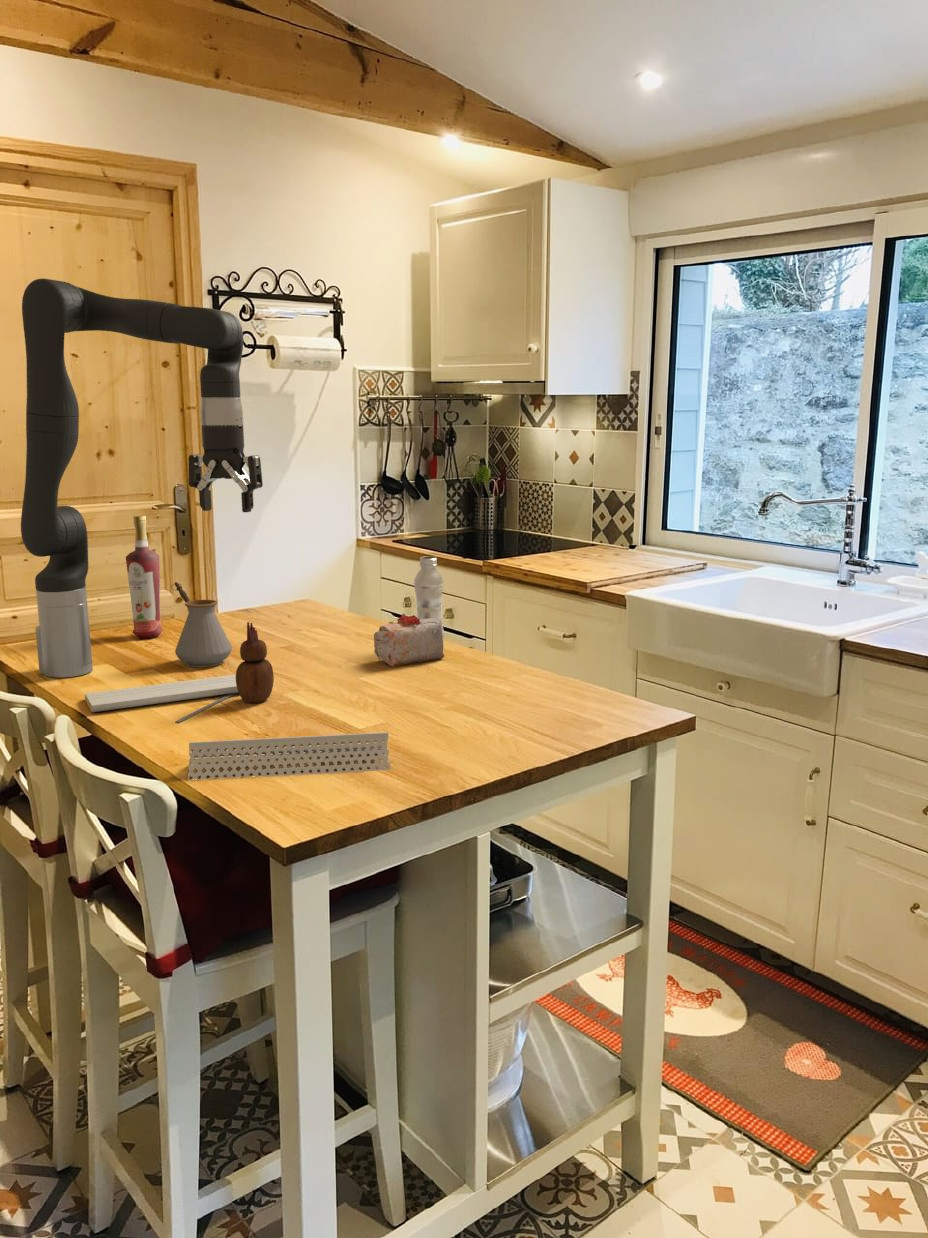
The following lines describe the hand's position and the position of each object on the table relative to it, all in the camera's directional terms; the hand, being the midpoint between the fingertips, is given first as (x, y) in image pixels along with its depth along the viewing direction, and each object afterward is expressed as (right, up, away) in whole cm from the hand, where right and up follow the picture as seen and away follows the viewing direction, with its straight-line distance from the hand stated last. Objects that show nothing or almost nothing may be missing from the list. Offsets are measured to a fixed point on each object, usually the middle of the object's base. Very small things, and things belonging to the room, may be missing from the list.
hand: (226, 511), depth 187 cm
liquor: (-29, -24, +45) cm, 59 cm away
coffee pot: (-13, -29, +26) cm, 40 cm away
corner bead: (+19, -43, -38) cm, 60 cm away
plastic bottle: (+37, -27, +34) cm, 57 cm away
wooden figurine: (+7, -35, -5) cm, 36 cm away
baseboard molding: (-9, -34, -1) cm, 35 cm away
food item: (+33, -29, +23) cm, 49 cm away
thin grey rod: (-1, -36, -9) cm, 37 cm away
